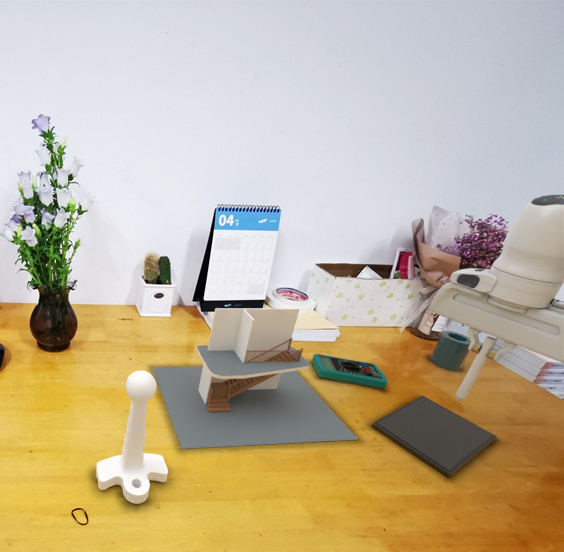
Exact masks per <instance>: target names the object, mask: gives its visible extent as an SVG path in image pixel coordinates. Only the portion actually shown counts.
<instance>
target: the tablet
mask: <svg viewBox="0 0 564 552" xmlns="http://www.w3.org/2000/svg"><path fill="white" fill-rule="evenodd" d="M371 424H372V425H371V428H373V429H374V430H376V431H378V432H379V433H380V434H382V435H383V436H384V437H386V438H387V439H390V440H391V441H392V442H393V443H395V444H397V445H398V446H400V447H401V448H402V449H404V450H406V451H407V452H409V453H410V454H411V455H413V456H415V457H416V458H418V459H419V460H421V461H422V462H423V463H425V464H427V465H428V466H429V467H431V468H432V469H434V470H435V471H437V472H438V473H440V474H441V475H442V476H445V477H446V478H447V479H449V478H450V477H451V476H453V475H455V473H457V472H458V471H459V470H460V469H462V467H464V466H465V465H466V464H468V463H469V462H470V461H471V460H472V459H473V458H475V457H476V456H477V455H479V453H481V452H482V451H483V450H484V449H486V448H487V447H488V446H489V445H491V444H492V443H494V441H496V439H497V437H498V436H497V435H495V434H493V433H492V432H490V431H488V430H487V429H484V428H483V427H481V426H479V425H477V424H475V423H473V422H472V421H470V420H468V419H466V418H464V417H462V416H460V415H459V414H457V413H455V412H454V411H451V410H450V409H448V408H446V407H444V406H442V405H441V404H439V403H437V402H435V401H434V400H432V399H429V398H428V397H426V396H424V395H421V396H419V397H417V398H415V399H414V400H412V401H410V402H408V403H406V404H405V405H403V406H401V407H399V408H397V409H396V410H393V411H392V412H390V413H389V414H387V415H384V416H383V417H381V418H380V419H378V420H375V421H374V422H372V423H371Z"/></svg>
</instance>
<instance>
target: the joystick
mask: <svg viewBox="0 0 564 552" xmlns="http://www.w3.org/2000/svg"><path fill="white" fill-rule="evenodd" d="M157 385H158V384H157V380H156V378H155V377H154V376H153V375H152V374H151V373H150V372H148V371H147V370H140V369H139V370H136V371H133V372H132V373H130V375H129V376H128V377H127V379H126V381H125V391H126V394H127V396H128V397H129V398H130V400H131V401H130V407H129V412H128V417H127V421H126V422H127V423H126V428H125V434H124V440H123V445H122V449H121V454H118V455H114V456H111V457H107V458H105V459H101V460H100V461H98V462H97V463H96V468H95V477H96V480H97V486H98V487H97V488H98V489H99V490H100V491H105V490H107V489H109V488H110V487H112V486H113V487H114V486H115V485H118V486H120V487H121V488H122V494H123V497H124V499H126V501H128V502H130V503H131V504H135V505H137V504H138V505H139V504H142V503H144V502H146V501H147V499H148V498H149V494H150V487H151V483H150V481H155V482H160V483H166V482H167V480H168V475H169V469H168V466H167V463H166V461H165V459H164V457H163V455H161V454H156V453H148V452H145V443H146V425H147V409H148V402H150V400H152V399H153V398H154V397H155V395H156V392H157Z"/></svg>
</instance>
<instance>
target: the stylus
mask: <svg viewBox="0 0 564 552" xmlns="http://www.w3.org/2000/svg"><path fill="white" fill-rule="evenodd" d="M497 342H498V338H496V337H494V336H491V335H490V336H488V335H487V336H485V339H484V340H483V342H482V343H483V344H482V346H481V348H480V350H479V352H478V353H476V356H475V358H474V359H473V361H472V363H471V365H470V367H469V369H468V371H467V372H466V375H465V377H464V378H463V380H462V382H461V384H460V385H459V388H458V389H457V391H456V393H455V396H456V401H458V402H462V401H463V400H466V399H467V397H468V395H469V393H470V391H471V389H472V387H473V386H474V384H475V382H476V381H477V378H478V376H479V374H480V373H481V371H482V369H483V367H484V365H485V364H486V362H487V360H488V358H487V355H488V354H489V351H490V350H491V349H493V348H495V345H496V344H497Z"/></svg>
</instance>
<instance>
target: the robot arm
mask: <svg viewBox="0 0 564 552" xmlns="http://www.w3.org/2000/svg"><path fill="white" fill-rule="evenodd" d="M449 280H450V281H449V282H447V283H444V284H443V285H442V286H441V287H440V288H439V289H438V291H437V292H436V294H435V295H434V297H433V299H432V301H431V303H430V307H429V308H430V310H431V312H432V313H433V314H436V315H438V316H441V317H443V318H446V319H449V320H450V321H451V320H452V321H454V322H456V323H459V324H461V325H463V326H466V327H469V328H468V330H467V334H468V337H469V338H470V342H471V343H470V345H469V347H468V350H470V351H469V352H473V353H475V354H478V352H479V350H480V348H481V346H482V344H483V342H481V341H480V338H479V334H481V333H485V334H487V335H490V336H491V337H494V338H496V339H500V340H503V343H502V346H503V348H501V349H499V348H496V347H493V349H491V350H490V351H489V354H488V355H487V359H489V360H492V361H493V362H498V361H500V360H501V358H502V357H503V355H504V354H505V353H508V352H510V351H512V350H513V349H514V350H515V349H516V348H517V347H521V348H524V349H526V350H529V351H531V352H534V353H535V354H538V355H541V356H544V357H547V358H548V359H552V360H554V361H556V362H559V363H562V364H564V301H562V300H560V299H556V296H557V295H558V293H559V291H560V289H561V287H562V286H563V285H564V194H548V195H541V196H539V197H536V198H533V199H531V200H530V201H529V202H528V203H527V204H526V205H524V207H523V208H522V209H521V211H520V212H519V213H518V215H517V217H515V220H514V221H513V223H512V225H511V226H510V228H509V230H508V232H507V234H506V236H505V238H504V240H503V243H502V250H501V253H500V255H499V256H498V257H497V258H496V260H494V262H493V263H492V265H491V266H490V268H471V267H469V268H462V269H458V270H455V271H454V272H452V273H451V275H450V277H449Z"/></svg>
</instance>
